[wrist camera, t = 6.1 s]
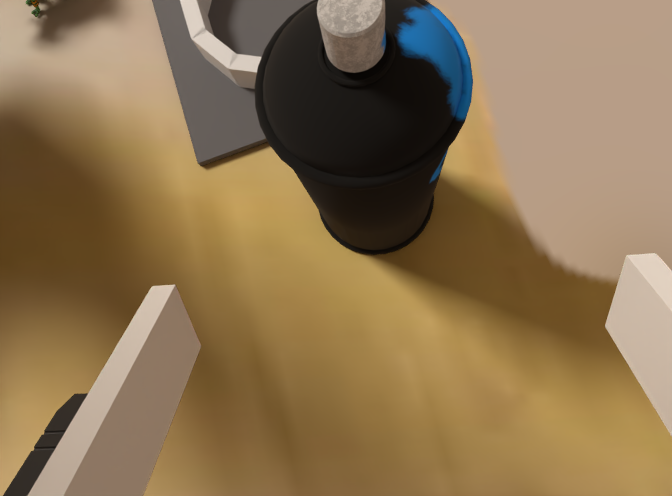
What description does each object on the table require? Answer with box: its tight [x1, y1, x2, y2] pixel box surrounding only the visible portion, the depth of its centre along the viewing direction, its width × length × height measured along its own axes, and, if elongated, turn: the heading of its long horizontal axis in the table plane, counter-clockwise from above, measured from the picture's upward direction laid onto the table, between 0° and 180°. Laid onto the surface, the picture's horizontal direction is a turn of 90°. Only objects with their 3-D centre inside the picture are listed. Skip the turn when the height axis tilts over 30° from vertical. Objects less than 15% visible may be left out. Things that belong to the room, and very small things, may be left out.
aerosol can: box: [255, 0, 473, 255], centre depth 23 cm, size 8×8×20 cm
